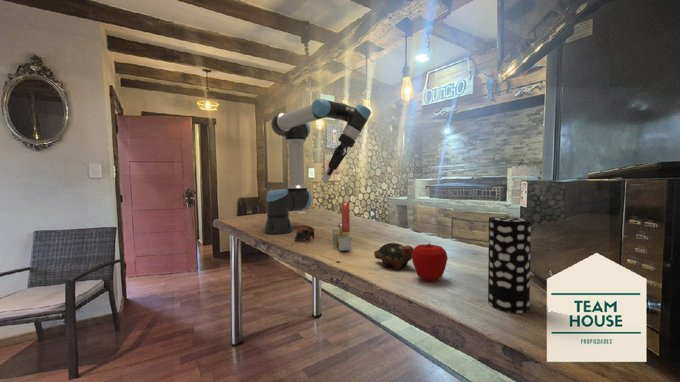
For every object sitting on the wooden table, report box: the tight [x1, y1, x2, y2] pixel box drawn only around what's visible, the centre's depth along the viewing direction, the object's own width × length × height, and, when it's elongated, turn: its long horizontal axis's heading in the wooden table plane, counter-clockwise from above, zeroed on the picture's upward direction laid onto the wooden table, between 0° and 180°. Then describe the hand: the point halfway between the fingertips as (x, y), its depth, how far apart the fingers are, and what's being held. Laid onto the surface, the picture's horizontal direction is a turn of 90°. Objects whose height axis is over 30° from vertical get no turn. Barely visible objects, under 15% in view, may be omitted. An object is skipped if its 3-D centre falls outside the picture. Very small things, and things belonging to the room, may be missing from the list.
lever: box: [337, 202, 351, 233], centre depth 118 cm, size 15×3×11 cm, turn 8°
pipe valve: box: [332, 227, 352, 252], centre depth 125 cm, size 19×6×8 cm, turn 9°
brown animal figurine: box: [294, 224, 316, 243], centre depth 139 cm, size 12×10×8 cm
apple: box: [411, 242, 449, 283], centre depth 84 cm, size 10×10×11 cm
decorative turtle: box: [373, 242, 415, 271], centre depth 97 cm, size 10×15×8 cm, turn 53°
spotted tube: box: [487, 216, 532, 314], centre depth 67 cm, size 8×8×20 cm
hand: (324, 180), depth 138 cm, fingers closed
